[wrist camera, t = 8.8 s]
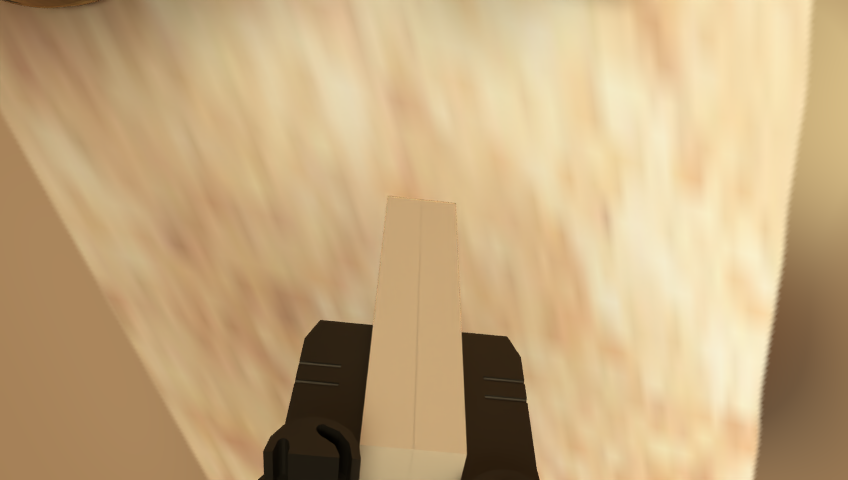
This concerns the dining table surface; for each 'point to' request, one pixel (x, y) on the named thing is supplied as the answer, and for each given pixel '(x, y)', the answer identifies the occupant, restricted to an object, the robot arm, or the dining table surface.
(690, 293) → the dining table surface
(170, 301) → the dining table surface
